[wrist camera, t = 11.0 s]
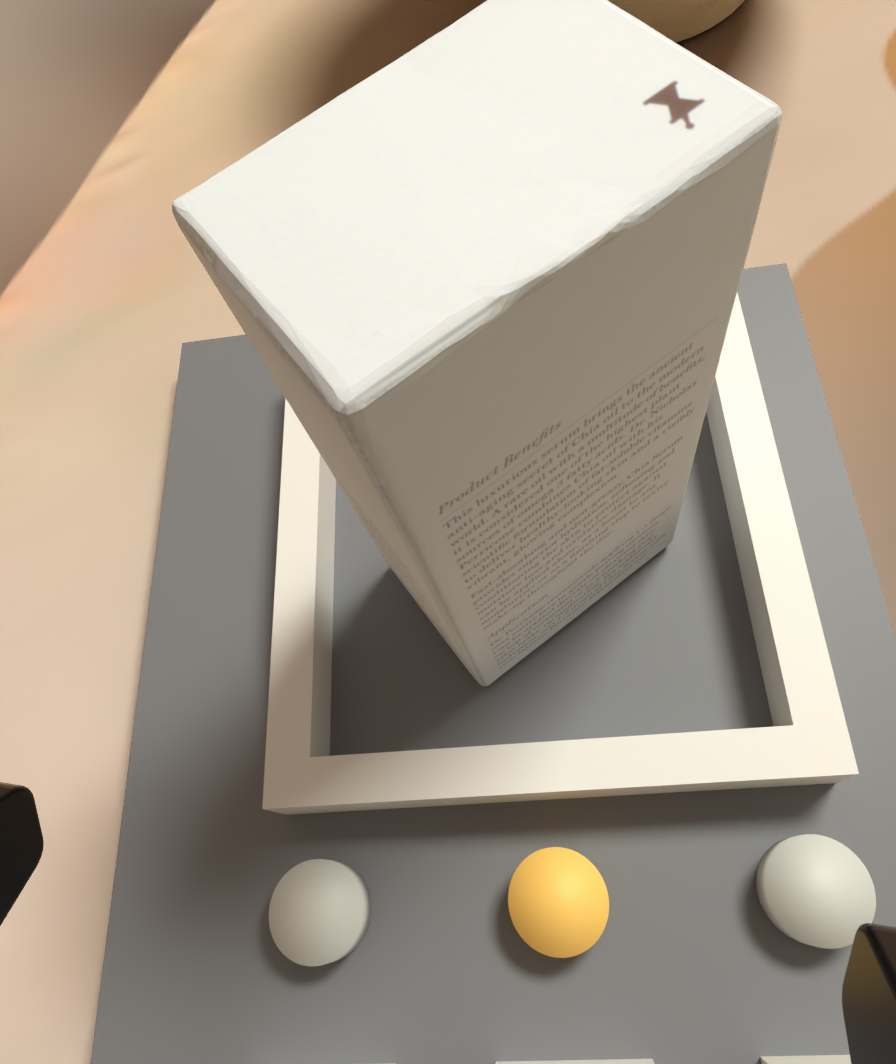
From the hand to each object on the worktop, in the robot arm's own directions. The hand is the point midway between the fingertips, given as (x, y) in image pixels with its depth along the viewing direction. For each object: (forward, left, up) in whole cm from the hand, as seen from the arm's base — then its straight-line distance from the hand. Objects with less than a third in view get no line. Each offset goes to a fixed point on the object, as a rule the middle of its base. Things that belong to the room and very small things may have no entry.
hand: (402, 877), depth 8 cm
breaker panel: (+4, 0, -10) cm, 11 cm away
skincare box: (+7, -1, -9) cm, 12 cm away
